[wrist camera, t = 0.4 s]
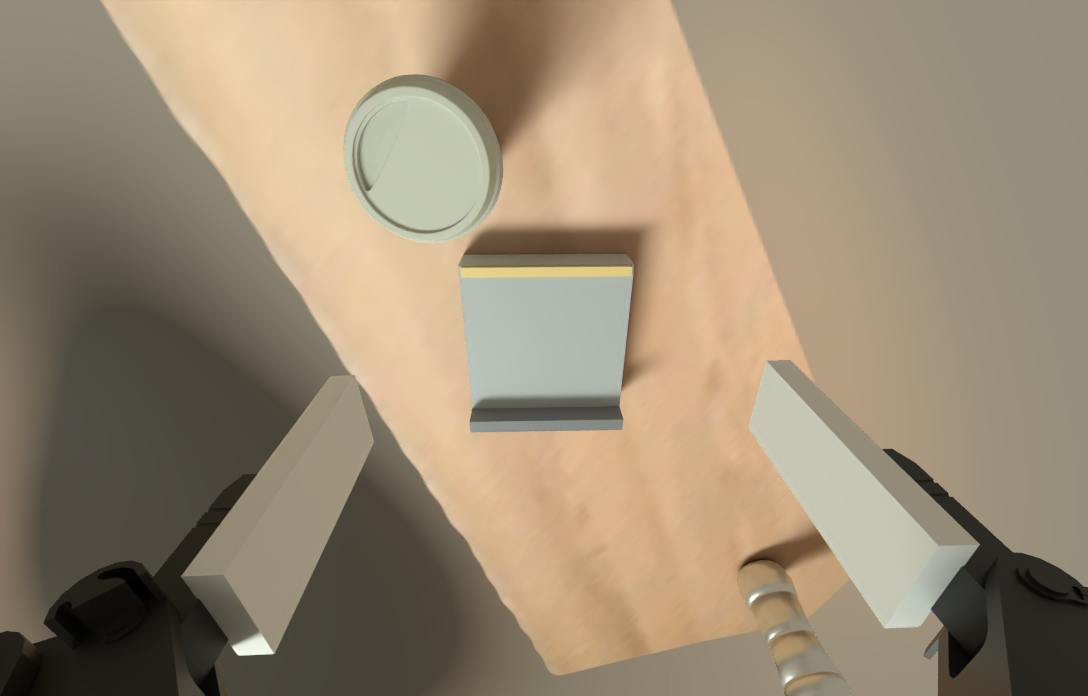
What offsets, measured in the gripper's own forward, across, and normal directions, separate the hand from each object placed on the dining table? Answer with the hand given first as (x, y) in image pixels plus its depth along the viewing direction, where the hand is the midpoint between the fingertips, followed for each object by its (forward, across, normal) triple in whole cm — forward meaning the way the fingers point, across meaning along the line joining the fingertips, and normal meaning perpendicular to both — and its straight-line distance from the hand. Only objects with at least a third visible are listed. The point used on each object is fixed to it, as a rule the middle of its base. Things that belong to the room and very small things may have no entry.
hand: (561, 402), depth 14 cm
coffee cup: (+25, -7, +6) cm, 26 cm away
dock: (+24, 0, -10) cm, 26 cm away
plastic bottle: (+24, +28, -47) cm, 60 cm away
